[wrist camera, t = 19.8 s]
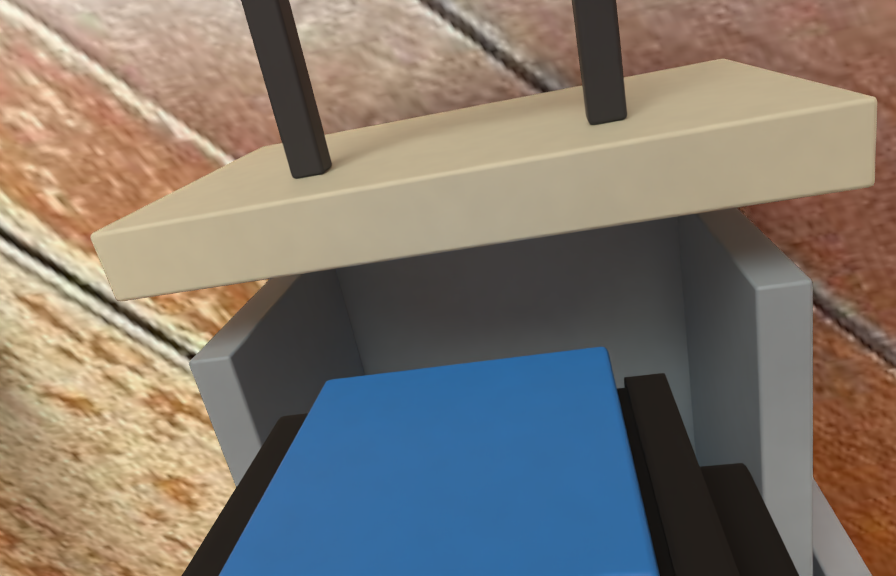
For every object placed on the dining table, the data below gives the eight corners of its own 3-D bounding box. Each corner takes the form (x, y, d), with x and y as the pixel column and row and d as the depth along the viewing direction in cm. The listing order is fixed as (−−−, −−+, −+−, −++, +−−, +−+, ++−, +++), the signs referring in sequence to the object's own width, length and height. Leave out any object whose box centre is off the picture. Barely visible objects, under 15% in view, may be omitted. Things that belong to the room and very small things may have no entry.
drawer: (185, -105, 15) (-92, -196, 8) (712, -249, 13) (901, -520, 6) (382, 551, 22) (316, 789, 15) (746, 526, 20) (856, 788, 13)
